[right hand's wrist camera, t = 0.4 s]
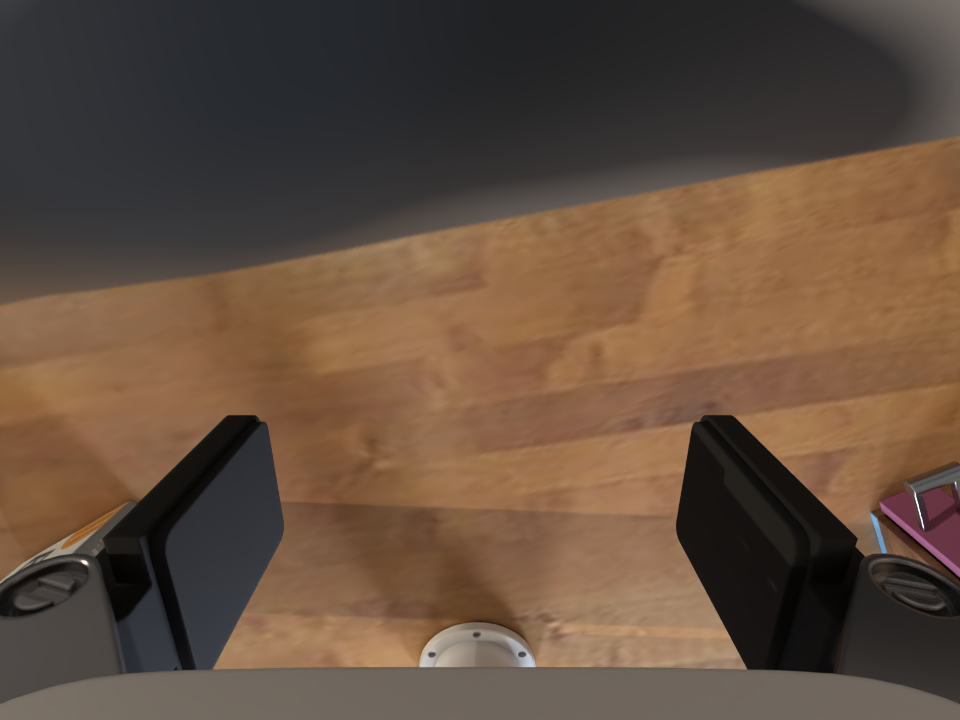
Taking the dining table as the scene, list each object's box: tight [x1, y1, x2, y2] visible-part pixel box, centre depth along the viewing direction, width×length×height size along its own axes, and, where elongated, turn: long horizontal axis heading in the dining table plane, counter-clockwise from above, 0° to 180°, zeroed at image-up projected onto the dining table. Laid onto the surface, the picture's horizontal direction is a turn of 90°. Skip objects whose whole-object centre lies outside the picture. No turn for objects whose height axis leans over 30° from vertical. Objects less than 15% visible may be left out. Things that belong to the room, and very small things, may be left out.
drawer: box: [879, 462, 960, 580], centre depth 44 cm, size 21×5×10 cm, turn 27°
